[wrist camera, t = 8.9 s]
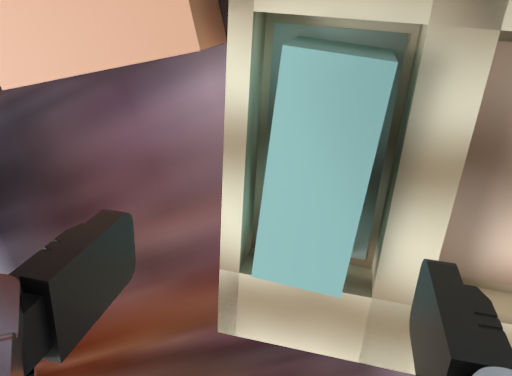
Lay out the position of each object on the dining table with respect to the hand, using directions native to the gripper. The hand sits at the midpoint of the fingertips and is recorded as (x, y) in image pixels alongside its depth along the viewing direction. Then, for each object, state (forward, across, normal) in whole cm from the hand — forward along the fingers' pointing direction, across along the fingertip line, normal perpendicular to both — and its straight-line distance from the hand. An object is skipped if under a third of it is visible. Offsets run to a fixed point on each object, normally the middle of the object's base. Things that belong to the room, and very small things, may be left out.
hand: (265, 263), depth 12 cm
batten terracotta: (+11, +10, -5) cm, 16 cm away
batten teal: (+10, -1, 0) cm, 10 cm away
